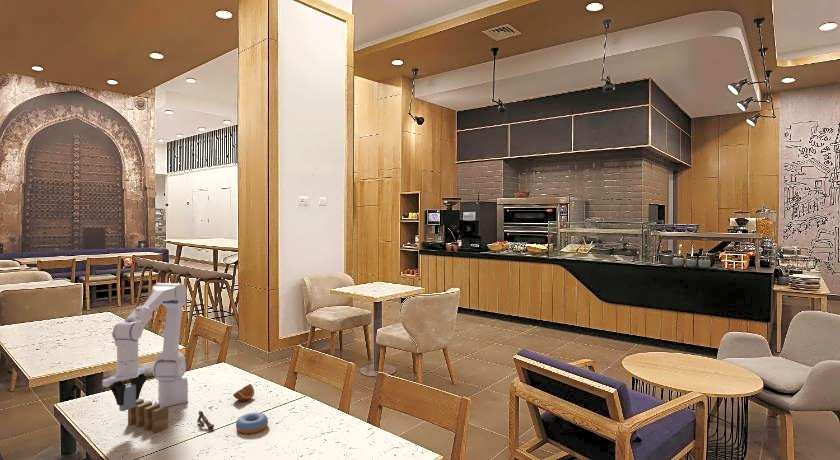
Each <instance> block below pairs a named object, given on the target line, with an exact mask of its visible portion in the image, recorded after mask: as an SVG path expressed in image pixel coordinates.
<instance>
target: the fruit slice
mask: <svg viewBox="0 0 840 460" xmlns="http://www.w3.org/2000/svg"><path fill="white" fill-rule="evenodd" d="M254 395H255V388H254V387H253V385H252V384H251V383H249V384H248V385H245V386H244V387H242V388H241V389H239V390H237V391H236V392H235V393H234V394H232V397H234V398H235V399H236V400H237V401H240V402H245V401H249V400H251V399H252V398H253V397H254Z"/></svg>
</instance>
